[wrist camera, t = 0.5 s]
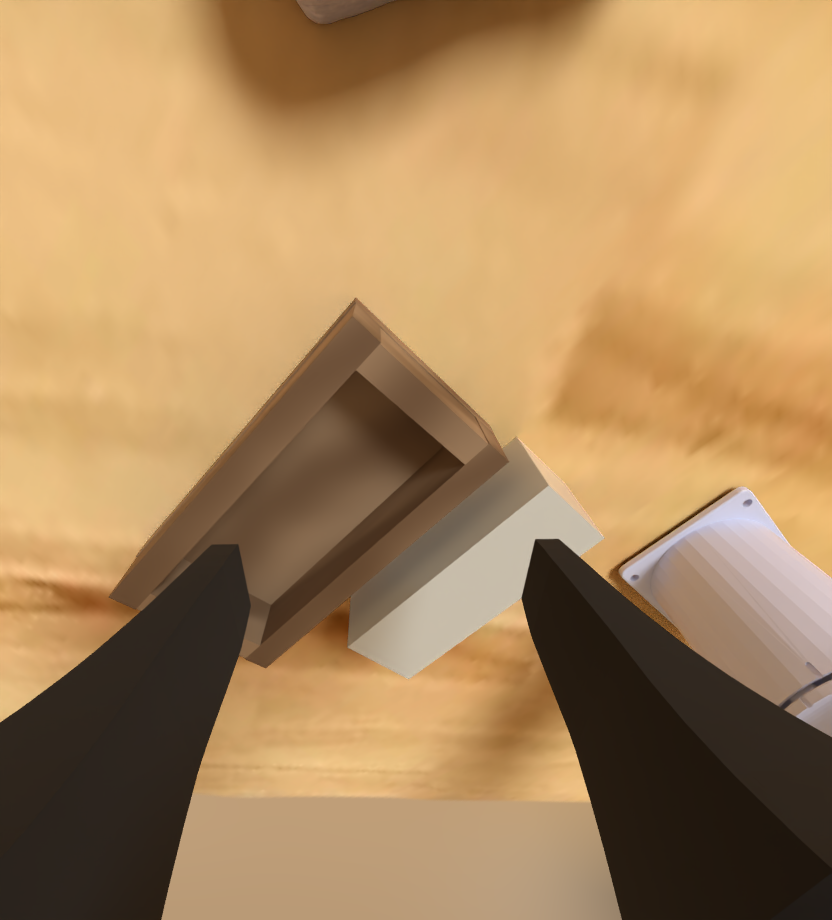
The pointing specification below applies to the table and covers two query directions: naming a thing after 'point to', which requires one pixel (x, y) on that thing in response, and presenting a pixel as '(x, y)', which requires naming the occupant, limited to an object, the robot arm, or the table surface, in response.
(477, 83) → the table surface
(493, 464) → the shallow brown tray
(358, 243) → the table surface
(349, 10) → the stone block
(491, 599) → the rectangular block
